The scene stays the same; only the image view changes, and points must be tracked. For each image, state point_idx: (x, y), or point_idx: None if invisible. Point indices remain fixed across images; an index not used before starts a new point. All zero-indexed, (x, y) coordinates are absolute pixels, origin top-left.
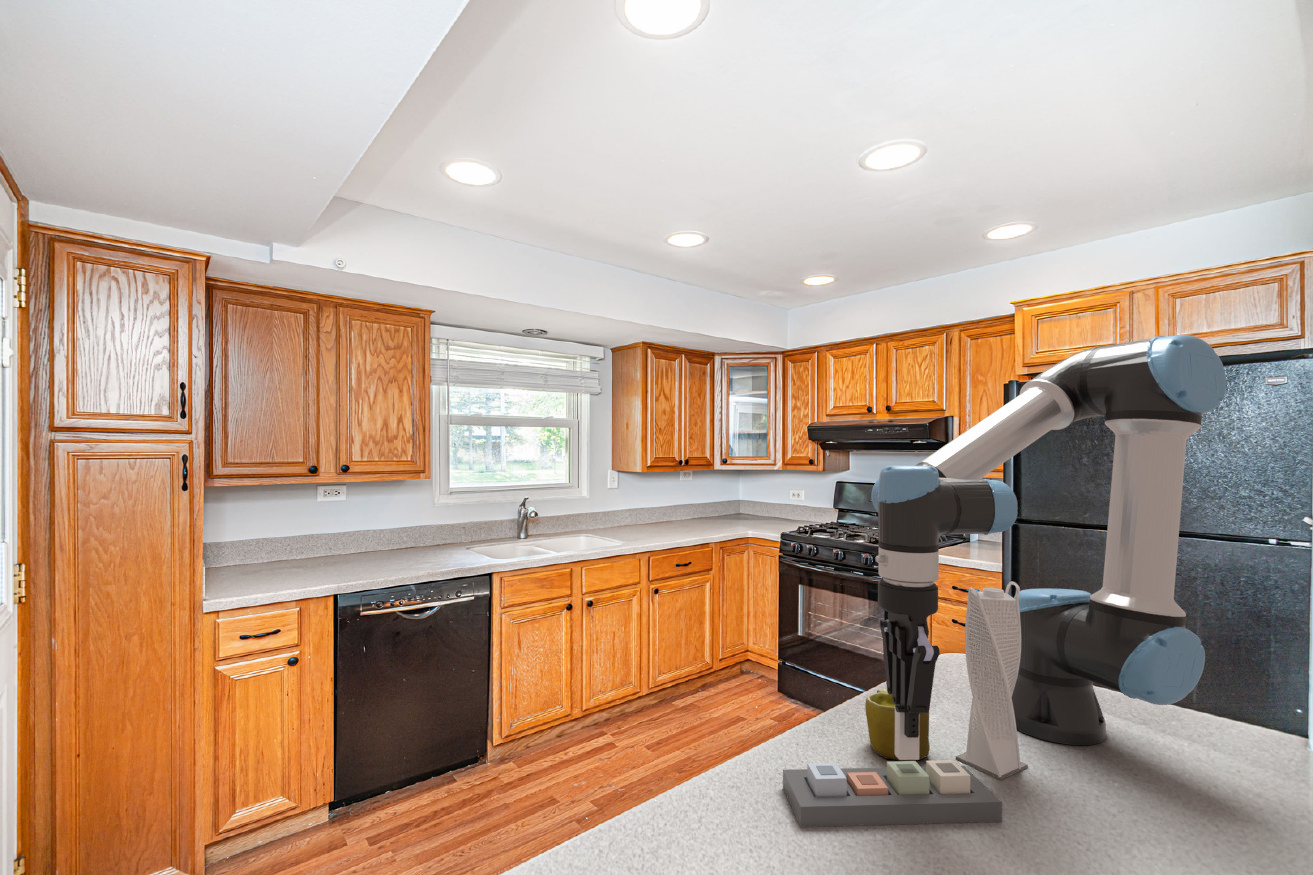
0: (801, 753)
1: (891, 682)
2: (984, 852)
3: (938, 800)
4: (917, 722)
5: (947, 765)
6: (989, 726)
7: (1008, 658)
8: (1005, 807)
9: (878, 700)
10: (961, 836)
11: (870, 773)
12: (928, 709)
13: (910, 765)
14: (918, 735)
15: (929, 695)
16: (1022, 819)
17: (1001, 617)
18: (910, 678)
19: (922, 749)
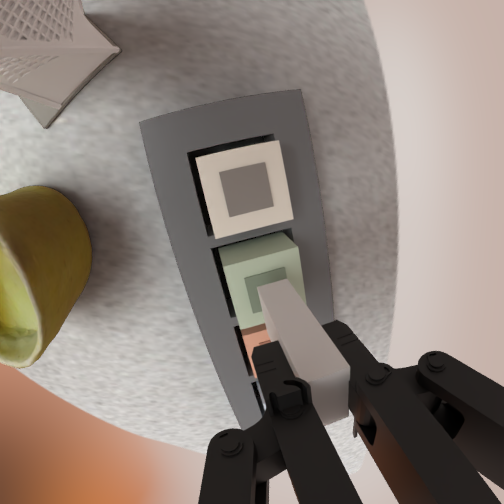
0: (127, 401)
1: (268, 501)
2: (374, 166)
3: (315, 223)
4: (367, 351)
5: (237, 187)
6: (53, 32)
7: None
8: (232, 70)
9: None
10: (341, 187)
11: (250, 345)
12: (450, 358)
13: (253, 282)
14: (343, 323)
15: (497, 389)
16: (271, 56)
17: None
18: (489, 476)
19: (67, 210)
